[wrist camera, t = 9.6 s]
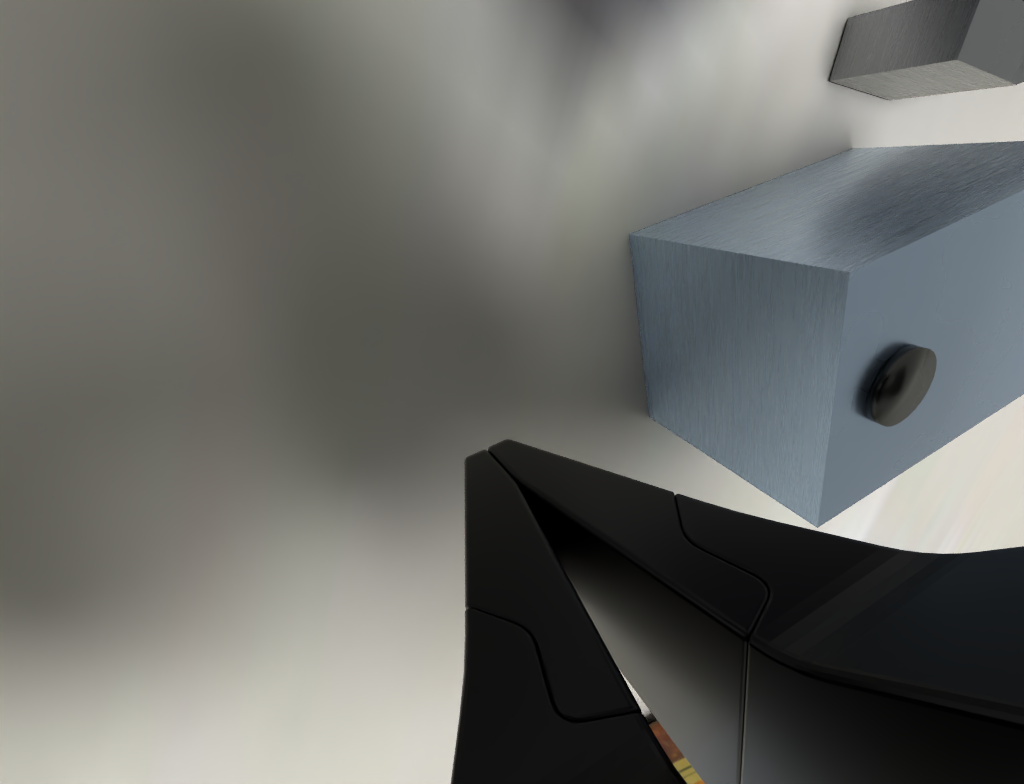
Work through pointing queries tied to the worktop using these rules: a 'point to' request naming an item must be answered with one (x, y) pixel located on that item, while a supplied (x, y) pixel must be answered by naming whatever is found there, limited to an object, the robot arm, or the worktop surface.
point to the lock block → (838, 317)
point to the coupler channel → (933, 48)
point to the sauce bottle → (675, 755)
